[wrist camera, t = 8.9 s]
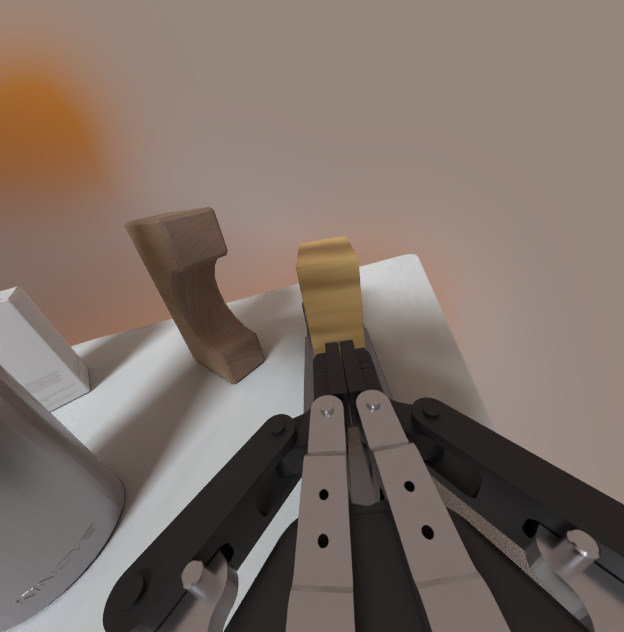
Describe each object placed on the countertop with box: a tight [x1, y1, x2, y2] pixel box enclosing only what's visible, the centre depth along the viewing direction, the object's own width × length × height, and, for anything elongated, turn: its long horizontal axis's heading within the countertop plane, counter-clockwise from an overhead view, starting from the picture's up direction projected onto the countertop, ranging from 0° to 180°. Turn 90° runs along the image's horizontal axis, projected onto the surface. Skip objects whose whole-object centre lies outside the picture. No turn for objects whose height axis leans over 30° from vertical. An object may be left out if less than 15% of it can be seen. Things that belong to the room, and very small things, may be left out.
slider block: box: [296, 236, 365, 356], centre depth 26 cm, size 8×5×14 cm, turn 1°
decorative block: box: [125, 207, 264, 384], centre depth 31 cm, size 11×6×20 cm, turn 49°
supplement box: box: [0, 286, 90, 412], centre depth 32 cm, size 9×9×15 cm
